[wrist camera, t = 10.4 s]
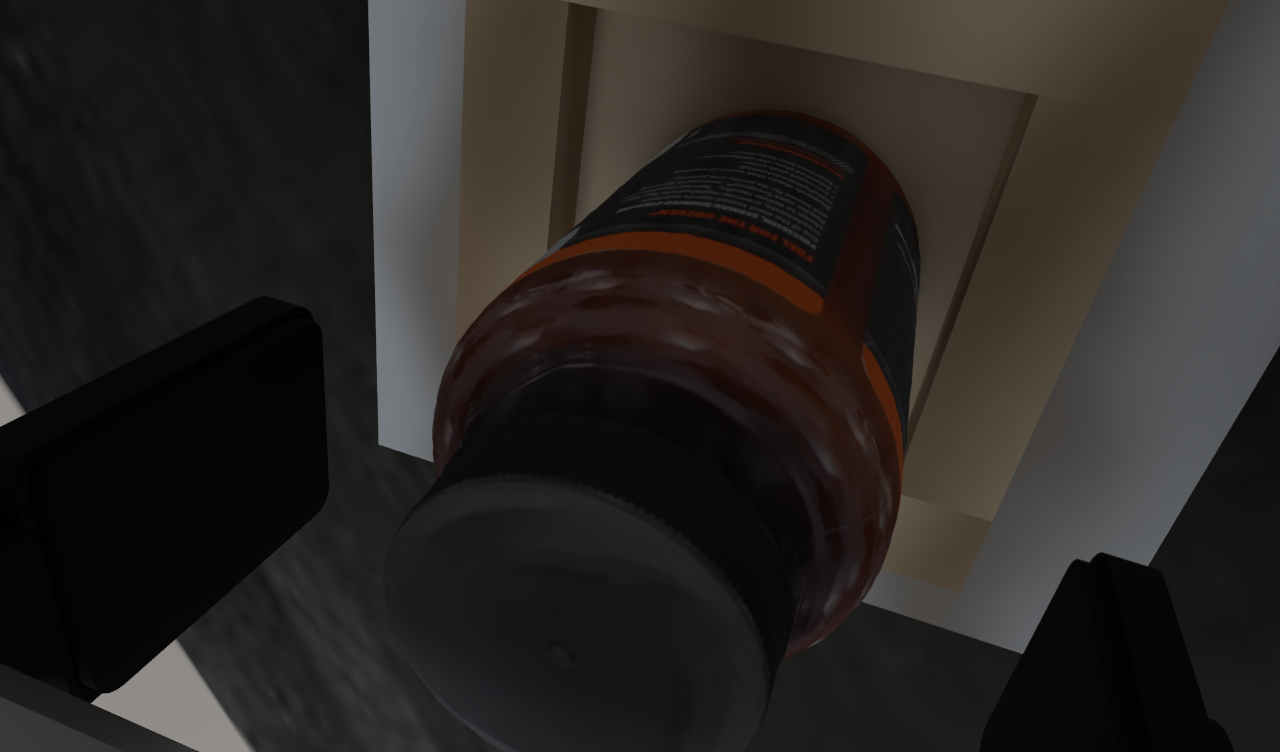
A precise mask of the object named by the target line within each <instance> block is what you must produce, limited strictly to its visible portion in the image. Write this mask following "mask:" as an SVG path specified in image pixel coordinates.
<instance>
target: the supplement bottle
mask: <svg viewBox="0 0 1280 752" xmlns="http://www.w3.org/2000/svg"><path fill="white" fill-rule="evenodd" d="M920 262H921V257H920V251H919V241H918V235H917V226H916V223H915V220H914V216H913V213H912V210H911V208H910V205H909V203H908V201H907V199H906V196H905V194H904V192H903V190H902V188H901V187H900V185H899V183H898V181H897V180H896V178H895V177H894V175H893V174H892V173H891V171H890V170H889V168H888V167H887V166H886V165H885V164H884V163H883V161H882V160H881V159H880V158H879V157H878V156H877V155H876V154H875V153H874V152H873V151H872V150H871V149H870V148H869V147H868V146H867V145H866V144H865V143H864V142H862V141H861V140H860V139H858V138H857V137H855V136H854V135H852V134H851V133H849V132H848V131H846V130H844V129H842V128H840V127H838V126H836V125H834V124H832V123H830V122H827V121H824V120H822V119H819V118H816V117H813V116H810V115H806V114H803V113H797V112H791V111H786V110H745V111H740V112H736V113H732V114H729V115H725V116H722V117H719V118H716V119H713V120H711V121H709V122H707V123H705V124H703V125H701V126H699V127H697V128H695V129H693V130H691V131H690V132H688V133H686V134H684V135H683V136H681V137H680V138H678V139H677V140H675V141H674V142H672V143H671V144H670V145H668V146H667V147H665V148H664V149H663V150H662V151H661V152H660V153H659V154H658V155H657V156H655V157H654V158H653V159H652V160H651V161H650V162H649V163H647V164H646V165H645V166H644V167H643V168H642V169H640V170H639V171H638V172H637V173H636V174H635V175H634V176H632V177H631V178H630V179H629V180H628V181H627V182H626V183H625V184H623V185H622V186H621V187H619V188H618V189H617V190H616V191H615V192H614V193H613V194H612V195H611V196H610V197H609V198H608V199H606V200H605V201H604V202H603V203H602V204H601V205H600V206H598V207H597V208H596V209H595V210H594V211H592V212H591V213H589V214H588V215H587V216H586V217H585V218H584V219H583V220H582V221H581V222H580V223H579V224H577V225H576V226H575V227H574V228H573V229H572V230H571V231H569V232H568V233H567V234H566V235H565V236H564V237H563V238H562V239H561V240H559V241H558V242H557V243H556V244H555V245H554V246H553V247H551V248H550V249H549V250H548V251H547V252H546V253H545V254H544V255H543V256H542V257H540V258H539V259H538V260H537V261H536V262H535V263H534V264H532V265H531V266H530V267H529V268H528V269H527V270H526V271H525V272H523V273H522V274H521V275H520V276H519V277H518V278H517V279H516V280H515V281H514V282H513V283H512V284H511V285H509V286H508V287H507V288H506V289H505V290H504V291H502V292H501V293H500V294H499V295H498V296H497V297H496V298H495V299H494V300H493V301H492V302H491V303H489V304H488V305H487V306H486V308H485V309H484V310H483V311H482V313H481V314H480V315H479V316H478V317H477V319H476V320H475V321H474V322H473V323H472V324H471V325H470V326H469V328H468V329H467V331H466V332H465V334H464V335H463V336H462V338H461V339H460V340H459V342H458V343H457V345H456V347H455V349H454V351H453V353H452V355H451V357H450V360H449V362H448V364H447V366H446V369H445V371H444V374H443V376H442V380H441V384H440V387H439V389H438V394H437V402H436V406H435V410H434V417H433V427H432V441H433V453H432V454H433V462H434V467H435V471H436V475H437V478H438V480H437V481H436V482H435V483H434V485H433V486H432V487H431V489H430V490H429V491H428V493H427V494H426V495H425V496H424V497H423V498H422V499H421V500H420V501H419V502H418V503H417V505H416V506H415V507H414V508H413V509H412V510H411V512H410V513H409V514H408V515H407V517H406V518H405V519H404V521H403V523H402V524H401V526H400V528H399V529H398V530H397V532H396V535H395V537H394V539H393V542H392V544H391V545H390V548H389V552H388V557H387V562H386V567H385V573H384V583H385V598H386V603H387V609H388V614H389V618H390V621H391V624H392V627H393V631H394V634H395V638H396V640H397V642H398V644H399V646H400V648H401V650H402V651H403V653H404V655H405V656H406V658H407V660H408V661H409V663H410V664H411V666H412V667H413V669H414V670H415V672H416V673H417V675H418V676H419V677H420V678H421V680H422V681H423V683H424V684H425V685H426V687H427V688H428V689H429V690H430V691H431V693H432V694H433V695H434V696H435V697H436V699H437V700H438V701H439V702H440V703H441V704H442V705H443V706H444V707H445V708H446V709H447V710H448V711H449V712H451V713H452V714H453V715H454V716H455V717H456V718H458V719H459V720H460V721H461V722H463V723H464V724H465V725H466V726H468V727H469V728H470V729H471V730H473V731H474V732H475V733H476V734H478V735H479V736H480V737H481V738H483V739H484V740H485V741H486V742H488V743H489V744H491V745H493V746H494V747H496V748H498V749H499V750H501V751H503V752H744V750H745V749H746V747H747V746H748V744H749V743H750V741H751V739H752V738H753V736H754V735H755V734H756V732H757V731H758V729H759V728H760V726H761V725H762V723H763V719H764V716H765V713H766V710H767V708H768V704H769V700H770V697H771V693H772V688H773V684H774V680H775V675H776V671H777V668H778V665H779V664H780V662H781V661H782V660H783V659H785V658H787V657H790V656H792V655H794V654H795V653H797V652H799V651H802V650H804V649H806V648H809V647H811V646H812V645H814V644H816V643H818V642H820V641H821V640H823V639H824V638H825V637H826V636H827V635H828V634H829V633H830V632H832V631H833V630H834V629H836V628H837V627H838V626H839V625H840V624H841V623H842V622H843V621H844V620H845V619H846V618H847V617H848V616H849V615H850V613H851V612H853V611H854V610H855V609H856V608H857V607H858V606H859V604H860V603H861V602H862V601H863V599H864V598H865V596H866V595H867V593H868V591H869V590H870V589H871V588H872V585H873V583H874V580H875V578H876V577H877V575H878V574H879V573H880V570H881V568H882V565H883V563H884V560H885V557H886V555H887V552H888V549H889V546H890V542H891V538H892V534H893V531H894V528H895V524H896V521H897V516H898V511H899V506H900V501H901V491H902V479H903V466H904V455H905V450H906V446H907V425H908V415H909V403H910V392H911V386H912V372H913V356H914V345H915V335H916V318H917V307H918V294H919V287H920Z"/></svg>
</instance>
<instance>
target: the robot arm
mask: <svg viewBox="0 0 1280 752" xmlns="http://www.w3.org/2000/svg"><path fill="white" fill-rule="evenodd" d="M328 491H329V478H328V456H327V434H326V412H325V390H324V367H323V345H322V332H321V329H320V327H319V325H318V324H317V323H315V322H314V319H313V316H312V314H311V312H310V311H309V310H307V309H306V308H305V307H302V306H298V305H295V304H292V303H288V302H285V301H282V300H279V299H275V298H272V297H267V296H262V297H259V298H256V299H254V300H252V301H250V302H248V303H246V304H244V305H242V306H240V307H238V308H236V309H234V310H232V311H230V312H228V313H226V314H224V315H222V316H220V317H218V318H216V319H214V320H212V321H210V322H208V323H206V324H204V325H202V326H200V327H198V328H196V329H194V330H192V331H190V332H188V333H186V334H184V335H182V336H180V337H178V338H176V339H174V340H172V341H170V342H168V343H166V344H164V345H162V346H160V347H158V348H156V349H154V350H152V351H150V352H148V353H146V354H144V355H142V356H140V357H138V358H136V359H134V360H132V361H130V362H128V363H126V364H124V365H122V366H120V367H119V368H117V369H115V370H113V371H111V372H109V373H107V374H105V375H103V376H101V377H99V378H97V379H95V380H93V381H91V382H89V383H87V384H85V385H83V386H81V387H79V388H77V389H75V390H73V391H71V392H69V393H67V394H65V395H63V396H61V397H59V398H57V399H55V400H53V401H51V402H49V403H47V404H45V405H43V406H41V407H39V408H37V409H35V410H33V411H31V412H29V413H27V414H25V415H23V416H21V417H19V418H17V419H15V420H13V421H11V422H9V423H7V424H5V425H3V426H1V427H0V752H198V751H196V750H194V749H191V748H189V747H187V746H185V745H183V744H180V743H178V742H176V741H173V740H171V739H169V738H167V737H164V736H162V735H160V734H158V733H156V732H153V731H151V730H149V729H147V728H144V727H142V726H140V725H138V724H135V723H133V722H131V721H129V720H126V719H124V718H122V717H120V716H117V715H115V714H113V713H111V712H108V711H106V710H104V709H102V708H99V707H97V706H95V705H93V704H90V703H92V702H93V701H94V700H95V699H96V698H97V697H98V696H100V695H101V694H102V693H110V692H113V691H115V690H117V689H119V688H120V687H121V686H123V685H124V684H125V683H126V682H127V681H129V680H130V679H131V678H132V677H133V676H134V675H135V674H137V673H138V672H139V671H140V670H141V669H142V668H143V667H144V666H146V665H147V664H148V663H149V662H150V661H151V660H152V659H154V658H155V657H156V656H157V655H158V654H159V653H160V652H161V651H162V650H164V649H165V648H166V647H167V646H168V645H169V644H170V643H172V642H173V641H174V640H175V639H176V638H177V637H178V636H180V635H181V634H182V633H183V632H184V631H185V630H186V629H187V628H189V627H190V626H191V625H192V624H193V623H194V622H195V621H197V620H198V619H199V618H200V617H201V616H202V615H203V614H204V613H206V612H207V611H208V610H209V609H210V608H211V607H212V606H214V605H215V604H216V603H217V602H218V601H219V600H220V599H221V598H223V597H224V596H225V595H226V594H227V593H228V592H229V591H231V590H232V589H233V588H234V587H235V586H236V585H237V584H238V583H240V582H241V581H242V580H243V579H244V578H245V577H246V576H247V575H249V574H250V573H251V572H252V571H253V570H254V569H255V568H257V567H258V566H259V565H260V564H261V563H262V562H263V561H264V560H266V559H267V558H268V557H269V556H270V555H271V554H272V553H274V552H275V551H276V550H277V549H278V548H279V547H280V546H281V545H283V544H284V543H285V542H286V541H287V540H288V539H289V538H291V537H292V536H293V535H294V534H295V533H296V532H297V531H298V530H300V529H301V528H302V527H303V526H304V525H305V524H306V523H307V522H309V521H310V520H311V519H312V518H313V517H314V516H315V515H316V514H317V513H318V512H319V511H320V510H321V508H322V507H323V505H324V503H325V501H326V499H327V495H328ZM980 752H1234V750H1233V747H1232V744H1231V742H1230V740H1229V738H1228V736H1227V734H1226V732H1225V730H1224V728H1223V727H1222V726H1220V725H1219V724H1218V723H1217V722H1216V721H1215V720H1212V719H1209V718H1208V715H1207V712H1206V709H1205V706H1204V702H1203V699H1202V696H1201V693H1200V690H1199V687H1198V684H1197V680H1196V677H1195V674H1194V671H1193V668H1192V665H1191V661H1190V658H1189V655H1188V652H1187V649H1186V646H1185V642H1184V639H1183V636H1182V633H1181V630H1180V627H1179V623H1178V620H1177V617H1176V614H1175V611H1174V608H1173V605H1172V601H1171V598H1170V595H1169V592H1168V589H1167V586H1166V582H1165V579H1164V577H1163V575H1162V573H1161V571H1159V570H1157V569H1155V568H1152V567H1149V566H1146V565H1142V564H1139V563H1136V562H1133V561H1129V560H1126V559H1123V558H1120V557H1116V556H1113V555H1110V554H1107V553H1103V552H1101V553H1097V554H1096V555H1095V556H1094V557H1093V558H1092V559H1091V561H1090V562H1087V561H1083V560H1080V559H1075V560H1074V561H1073V562H1072V563H1071V564H1070V565H1069V567H1068V569H1067V570H1066V572H1065V574H1064V576H1063V578H1062V580H1061V582H1060V584H1059V586H1058V588H1057V590H1056V591H1055V593H1054V595H1053V597H1052V599H1051V601H1050V603H1049V605H1048V607H1047V609H1046V611H1045V613H1044V614H1043V616H1042V618H1041V620H1040V622H1039V624H1038V626H1037V628H1036V630H1035V632H1034V634H1033V636H1032V637H1031V639H1030V641H1029V643H1028V645H1027V647H1026V649H1025V651H1024V653H1023V655H1022V657H1021V659H1020V661H1019V662H1018V664H1017V666H1016V668H1015V670H1014V672H1013V674H1012V676H1011V678H1010V680H1009V682H1008V684H1007V685H1006V687H1005V689H1004V691H1003V693H1002V695H1001V697H1000V699H999V701H998V703H997V705H996V707H995V708H994V710H993V712H992V714H991V716H990V718H989V720H988V722H987V724H986V727H985V730H984V733H983V736H982V741H981V747H980Z"/></svg>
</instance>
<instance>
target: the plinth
mask: <svg viewBox="0 0 1280 752" xmlns="http://www.w3.org/2000/svg"><path fill="white" fill-rule="evenodd" d="M368 9H369V51H370V93H371V135H372V177H373V219H374V261H375V303H376V345H377V387H378V429H379V445H382V446H385V447H388V448H391V449H394V450H398V451H401V452H404V453H407V454H410V455H413V456H416V457H419V458H422V459H425V460H428V461H431V462H433V454H432V453H433V441H432V427H433V417H434V410H435V406H436V402H437V394H438V389H439V387H440V384H441V380H442V376H443V374H444V371H445V369H446V366H447V364H448V362H449V360H450V357H451V355H452V353H453V351H454V349H455V347H456V345H457V343H458V342H459V340H460V339H461V338H462V336H463V335H464V334H465V332H466V331H467V329H468V328H469V326H470V325H471V324H472V323H473V322H474V321H475V320H476V319H477V317H478V316H479V315H480V314H481V313H482V311H483V310H484V309H485V308H486V306H487V305H488V304H489V303H491V302H492V301H493V300H494V299H495V298H496V297H497V296H498V295H499V294H500V293H501V292H502V291H504V290H505V289H506V288H507V287H508V286H509V285H511V284H512V283H513V282H514V281H515V280H516V279H517V278H518V277H519V276H520V275H521V274H522V273H523V272H525V271H526V270H527V269H528V268H529V267H530V266H531V265H532V264H534V263H535V262H536V261H537V260H538V259H539V258H540V257H542V256H543V255H544V254H545V253H546V252H547V251H548V250H549V249H550V248H551V247H553V246H554V245H555V244H556V243H557V242H558V241H559V240H561V239H562V238H563V237H564V236H565V235H566V234H567V233H568V232H569V231H571V230H572V229H573V228H574V227H575V226H576V225H577V224H579V223H580V222H581V221H582V220H583V219H584V218H585V217H586V216H587V215H588V214H589V213H591V212H592V211H594V210H595V209H596V208H597V207H598V206H600V205H601V204H602V203H603V202H604V201H605V200H606V199H608V198H609V197H610V196H611V195H612V194H613V193H614V192H615V191H616V190H617V189H618V188H619V187H621V186H622V185H623V184H625V183H626V182H627V181H628V180H629V179H630V178H631V177H632V176H634V175H635V174H636V173H637V172H638V171H639V170H640V169H642V168H643V167H644V166H645V165H646V164H647V163H649V162H650V161H651V160H652V159H653V158H654V157H655V156H657V155H658V154H659V153H660V152H661V151H662V150H663V149H664V148H665V147H667V146H668V145H670V144H671V143H672V142H674V141H675V140H677V139H678V138H680V137H681V136H683V135H684V134H686V133H688V132H690V131H691V130H693V129H695V128H697V127H699V126H701V125H703V124H705V123H707V122H709V121H711V120H713V119H716V118H719V117H722V116H725V115H729V114H732V113H736V112H740V111H745V110H786V111H791V112H797V113H803V114H806V115H810V116H813V117H816V118H819V119H822V120H824V121H827V122H830V123H832V124H834V125H836V126H838V127H840V128H842V129H844V130H846V131H848V132H849V133H851V134H852V135H854V136H855V137H857V138H858V139H860V140H861V141H862V142H864V143H865V144H866V145H867V146H868V147H869V148H870V149H871V150H872V151H873V152H874V153H875V154H876V155H877V156H878V157H879V158H880V159H881V160H882V161H883V163H884V164H885V165H886V166H887V167H888V168H889V170H890V171H891V173H892V174H893V175H894V177H895V178H896V180H897V181H898V183H899V185H900V187H901V188H902V190H903V192H904V194H905V196H906V199H907V201H908V203H909V205H910V208H911V210H912V213H913V216H914V220H915V223H916V226H917V235H918V241H919V251H920V257H921V262H920V287H919V294H918V307H917V318H916V335H915V345H914V356H913V372H912V386H911V392H910V403H909V415H908V425H907V446H906V450H905V455H904V466H903V479H902V491H901V501H900V506H899V511H898V516H897V521H896V524H895V528H894V531H893V534H892V538H891V542H890V546H889V549H888V552H887V555H886V557H885V560H884V563H883V565H882V568H881V570H880V573H879V574H878V575H877V577H876V578H875V580H874V583H873V585H872V588H871V589H870V590H869V591H868V593H867V595H866V596H865V598H864V599H863V601H862V602H865V603H868V604H871V605H874V606H877V607H880V608H883V609H886V610H889V611H892V612H896V613H899V614H902V615H905V616H908V617H911V618H914V619H917V620H920V621H923V622H926V623H929V624H932V625H936V626H939V627H942V628H945V629H948V630H951V631H954V632H957V633H960V634H963V635H966V636H969V637H972V638H975V639H979V640H982V641H985V642H988V643H991V644H994V645H997V646H1000V647H1003V648H1006V649H1009V650H1012V651H1015V652H1019V653H1022V654H1023V653H1024V651H1025V649H1026V647H1027V645H1028V643H1029V641H1030V639H1031V637H1032V636H1033V634H1034V632H1035V630H1036V628H1037V626H1038V624H1039V622H1040V620H1041V618H1042V616H1043V614H1044V613H1045V611H1046V609H1047V607H1048V605H1049V603H1050V601H1051V599H1052V597H1053V595H1054V593H1055V591H1056V590H1057V588H1058V586H1059V584H1060V582H1061V580H1062V578H1063V576H1064V574H1065V572H1066V570H1067V569H1068V567H1069V565H1070V564H1071V563H1072V562H1073V561H1074V560H1075V559H1080V560H1083V561H1087V562H1090V561H1091V559H1092V558H1093V557H1094V556H1095V555H1096V554H1097V553H1101V552H1103V553H1107V554H1110V555H1113V556H1116V557H1120V558H1123V559H1126V560H1129V561H1133V562H1136V563H1139V564H1142V565H1146V566H1148V565H1149V563H1150V562H1151V560H1152V558H1153V557H1154V555H1155V553H1156V552H1157V550H1158V548H1159V547H1160V545H1161V543H1162V542H1163V540H1164V538H1165V537H1166V535H1167V533H1168V532H1169V530H1170V528H1171V527H1172V525H1173V523H1174V522H1175V520H1176V518H1177V517H1178V515H1179V513H1180V512H1181V510H1182V508H1183V507H1184V505H1185V503H1186V502H1187V500H1188V498H1189V497H1190V495H1191V493H1192V492H1193V490H1194V488H1195V487H1196V485H1197V483H1198V482H1199V480H1200V478H1201V477H1202V475H1203V473H1204V472H1205V470H1206V468H1207V466H1208V465H1209V463H1210V461H1211V460H1212V458H1213V456H1214V455H1215V453H1216V451H1217V450H1218V448H1219V446H1220V445H1221V443H1222V441H1223V440H1224V438H1225V436H1226V435H1227V433H1228V431H1229V430H1230V428H1231V426H1232V425H1233V423H1234V421H1235V420H1236V418H1237V416H1238V415H1239V413H1240V411H1241V410H1242V408H1243V406H1244V405H1245V403H1246V401H1247V400H1248V398H1249V396H1250V395H1251V393H1252V391H1253V390H1254V388H1255V386H1256V385H1257V383H1258V381H1259V380H1260V378H1261V376H1262V375H1263V373H1264V371H1265V370H1266V368H1267V366H1268V365H1269V363H1270V361H1271V360H1272V358H1273V356H1274V354H1275V353H1276V351H1277V349H1278V348H1279V346H1280V0H368Z"/></svg>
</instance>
